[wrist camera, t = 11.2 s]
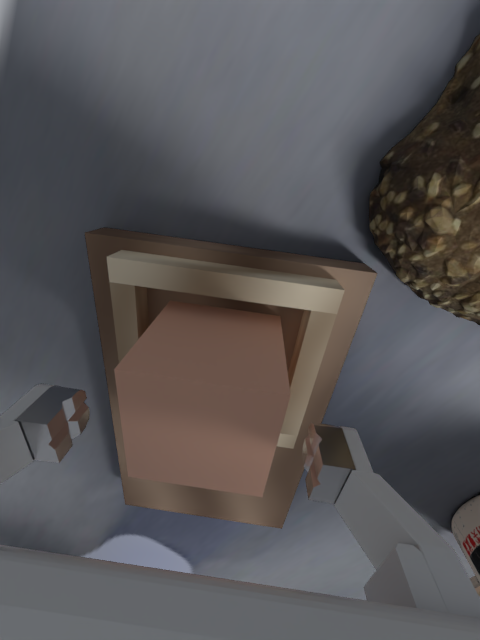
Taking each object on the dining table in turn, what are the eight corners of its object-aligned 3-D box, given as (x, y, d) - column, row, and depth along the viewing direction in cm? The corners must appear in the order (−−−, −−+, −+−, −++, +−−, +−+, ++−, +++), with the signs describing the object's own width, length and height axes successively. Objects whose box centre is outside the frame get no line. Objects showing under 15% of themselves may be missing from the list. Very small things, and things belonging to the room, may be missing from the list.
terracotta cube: (280, 315, 12) (290, 395, 7) (262, 398, 14) (262, 497, 10) (170, 300, 12) (114, 369, 7) (170, 385, 14) (128, 476, 10)
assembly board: (364, 263, 12) (390, 283, 9) (280, 506, 21) (282, 548, 19) (104, 227, 12) (64, 237, 10) (133, 484, 21) (117, 522, 19)
